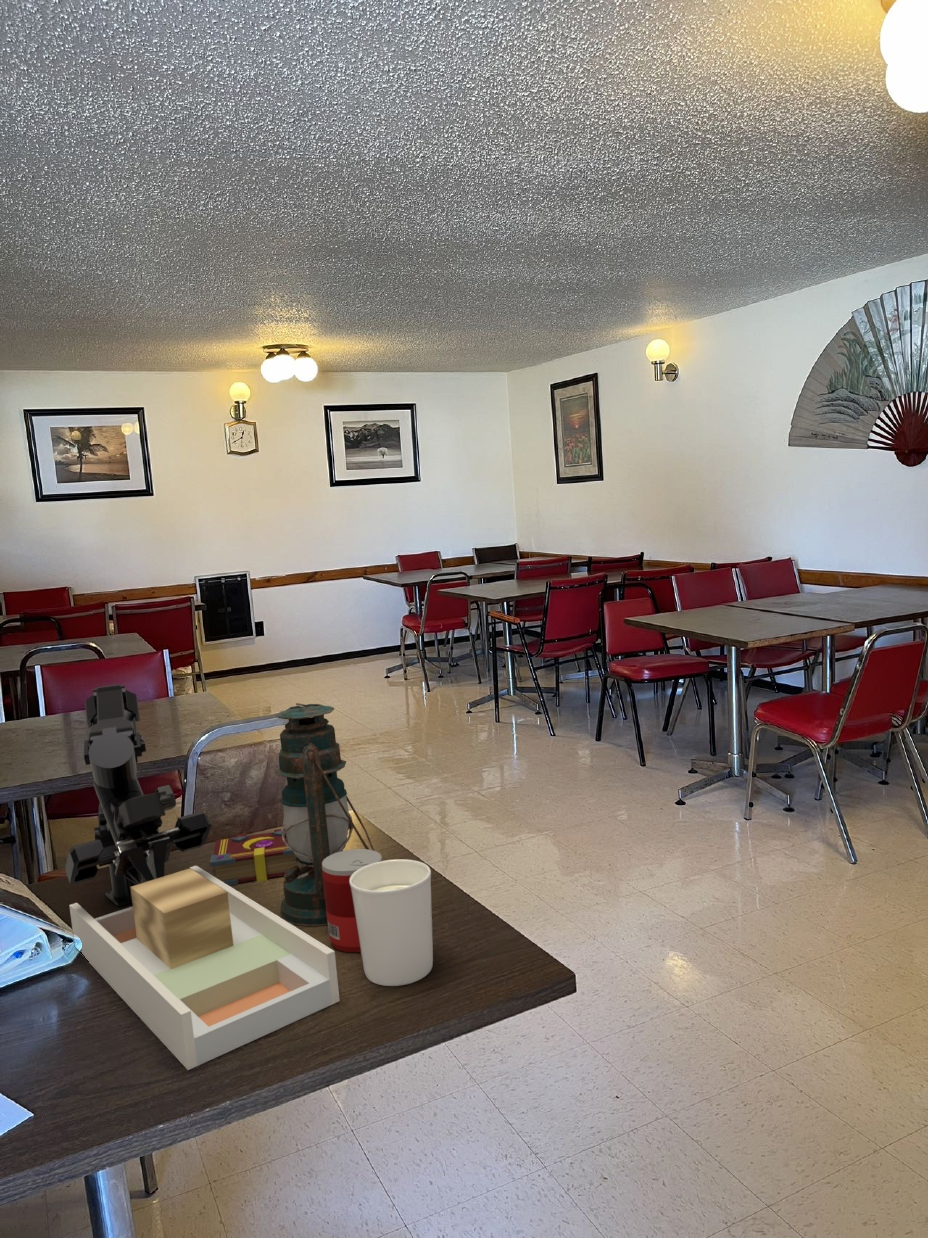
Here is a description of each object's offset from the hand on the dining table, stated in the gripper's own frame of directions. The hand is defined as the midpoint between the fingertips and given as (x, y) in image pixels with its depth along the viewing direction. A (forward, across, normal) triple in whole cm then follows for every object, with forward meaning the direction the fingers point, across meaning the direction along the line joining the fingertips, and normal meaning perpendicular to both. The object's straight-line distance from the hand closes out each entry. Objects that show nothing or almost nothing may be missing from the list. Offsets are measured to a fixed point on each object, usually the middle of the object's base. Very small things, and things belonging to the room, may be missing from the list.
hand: (161, 900), depth 119 cm
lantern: (+9, +22, +1) cm, 24 cm away
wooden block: (+7, 0, -2) cm, 8 cm away
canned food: (+18, +19, -8) cm, 27 cm away
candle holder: (+25, +18, -15) cm, 34 cm away
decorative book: (-7, +23, +17) cm, 29 cm away
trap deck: (+11, 0, -2) cm, 12 cm away
